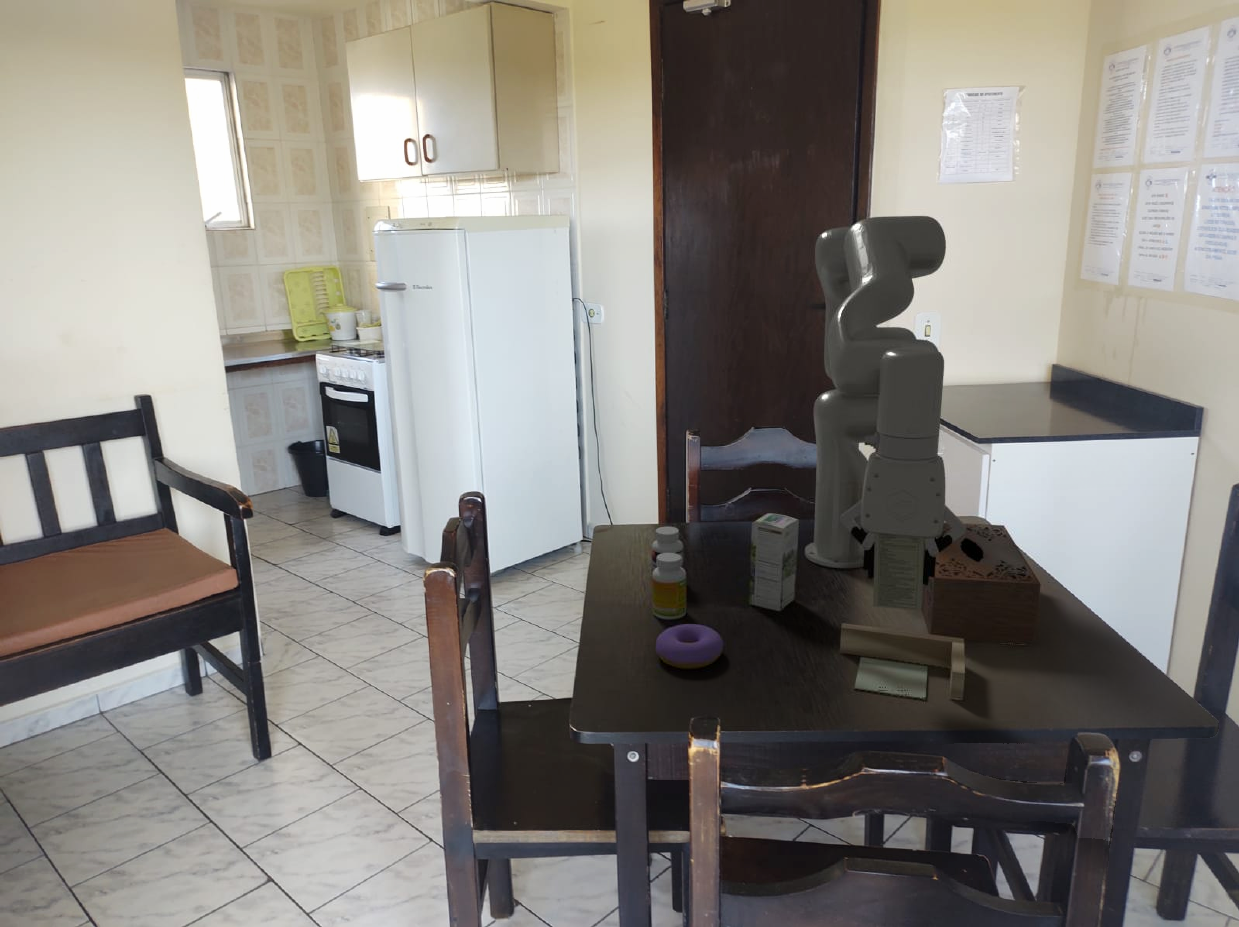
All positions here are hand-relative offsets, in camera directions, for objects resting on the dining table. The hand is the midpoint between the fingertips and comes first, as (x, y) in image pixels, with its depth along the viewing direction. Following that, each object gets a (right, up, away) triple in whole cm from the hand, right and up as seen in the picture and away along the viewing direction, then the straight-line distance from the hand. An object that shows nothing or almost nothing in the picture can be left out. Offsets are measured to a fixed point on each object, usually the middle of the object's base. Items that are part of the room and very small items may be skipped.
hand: (898, 577), depth 115 cm
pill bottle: (-28, -6, +38) cm, 48 cm away
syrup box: (-12, -8, +29) cm, 32 cm away
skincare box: (0, -4, +1) cm, 4 cm away
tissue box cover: (+19, -8, +26) cm, 33 cm away
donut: (-27, -13, +12) cm, 32 cm away
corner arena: (+1, -14, +5) cm, 15 cm away
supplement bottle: (-29, -9, +26) cm, 40 cm away
